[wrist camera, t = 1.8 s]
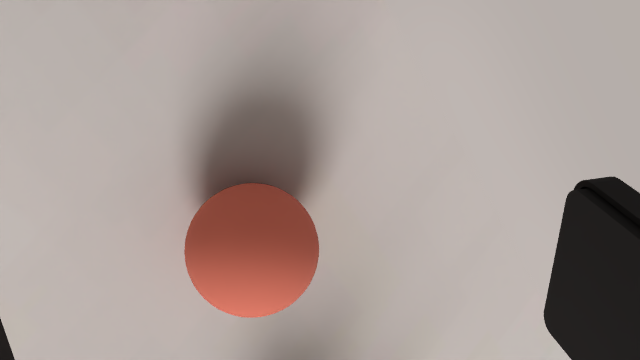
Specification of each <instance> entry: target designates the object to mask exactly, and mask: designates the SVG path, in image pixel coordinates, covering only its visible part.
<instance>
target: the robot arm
mask: <svg viewBox="0 0 640 360" xmlns="http://www.w3.org/2000/svg"><path fill="white" fill-rule="evenodd" d="M544 320H545V324H546V327H547V329H548V331H549V332H550V334H551V335H552V336H553V338H554V339H555V340H556V341H557V342H558V344H559V345H560V346H561V347H562V349H563V350H564V351H565V352H566V353H567V355H568V356H569V357H570V358H571V360H640V193H639V192H637V191H636V190H634V189H633V188H631V187H630V186H629V185H627V184H626V183H624V182H623V181H621V180H620V179H618V178H616V177H605V178H598V179H590V180H583V181H581V182H579V183H578V184H577V185H576V186H575V188H574V190H573V191H571V192H570V193H569V194H568V196H567V198H566V202H565V207H564V213H563V218H562V223H561V228H560V233H559V238H558V243H557V248H556V253H555V258H554V263H553V268H552V273H551V279H550V283H549V288H548V294H547V299H546V304H545V309H544ZM0 360H15V359H14V356H13V353H12V351H11V348H10V345H9V342H8V339H7V336H6V333H5V331H4V328H3V325H2V322H1V319H0Z"/></svg>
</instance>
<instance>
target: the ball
mask: <svg viewBox="0 0 640 360" xmlns="http://www.w3.org/2000/svg"><path fill="white" fill-rule="evenodd" d="M318 257H319V243H318V236H317V232H316V229H315V225H314V223H313V221H312V219H311V217H310V215H309V214H308V212H307V211H306V209H305V208H304V207H303V206H302V205H301V204H300V203H299V202H298V200H296V199H295V198H294V197H293V196H291V195H290V194H288V193H286V192H285V191H283V190H281V189H279V188H276V187H274V186H270V185H266V184H259V183H246V184H239V185H235V186H232V187H229V188H226V189H224V190H222V191H220V192H219V193H217V194H215V195H214V196H212V197H211V198H210V199H208V200H207V201H206V202H205V203H204V204H203V205H202V206H201V208H200V209H199V210H198V212H197V213H196V214H195V216H194V218H193V220H192V221H191V224H190V226H189V229H188V232H187V236H186V240H185V262H186V267H187V271H188V273H189V276H190V278H191V280H192V283H193V284H194V286H195V288H196V289H197V290H198V292H199V293H200V294H201V295H202V296H203V298H204V299H205V300H207V301H208V302H209V303H210V304H212V305H213V306H214V307H216V308H218V309H219V310H221V311H224V312H226V313H229V314H232V315H235V316H240V317H262V316H267V315H270V314H273V313H276V312H278V311H281V310H283V309H284V308H286V307H288V306H289V305H291V304H292V303H293V302H295V301H296V300H297V299H298V298H299V297H300V296H301V295H302V293H303V292H304V291H305V290H306V288H307V287H308V285H309V284H310V282H311V280H312V278H313V276H314V273H315V270H316V268H317V262H318Z"/></svg>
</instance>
